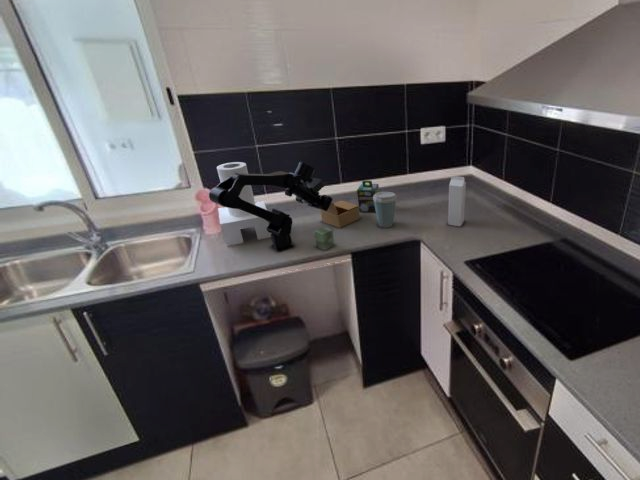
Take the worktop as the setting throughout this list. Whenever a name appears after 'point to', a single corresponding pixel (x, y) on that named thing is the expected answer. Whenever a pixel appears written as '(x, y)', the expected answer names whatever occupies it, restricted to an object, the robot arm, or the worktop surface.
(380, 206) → the disposable coffee cup
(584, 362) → the worktop surface
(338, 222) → the carton
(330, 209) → the flap
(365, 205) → the chalk box
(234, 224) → the paper towel holder
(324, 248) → the block
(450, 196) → the milk
